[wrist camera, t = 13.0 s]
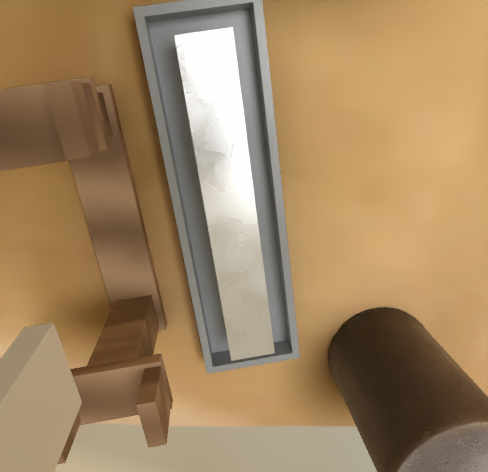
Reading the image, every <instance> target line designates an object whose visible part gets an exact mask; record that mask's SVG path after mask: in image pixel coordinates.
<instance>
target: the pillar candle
mask: <svg viewBox="0 0 488 472" xmlns="http://www.w3.org/2000/svg"><path fill="white" fill-rule="evenodd" d="M328 359H329V366H330V369H331V372H332V375H333V377H334V379H335V381H336V383H337V385H338V387H339V390H340V392H341V394H342V396H343V398H344V400H345V403H346V405H347V407H348V409H349V411H350V413H351V416H352V418H353V420H354V422H355V424H356V426H357V429H358V431H359V433H360V435H361V437H362V439H363V442H364V444H365V446H366V448H367V450H368V453H369V455H370V457H371V459H372V461H373V463H374V465H375V468H376V470H377V472H488V397H487V395H486V394H485V393H484V392H483V391H482V390H481V389H480V388H479V387H478V386H477V385H476V384H475V383H474V382H473V380H472V379H471V378H470V377H469V376H468V375H467V374H466V373H465V372H464V371H463V370H462V369H461V367H460V366H459V365H458V364H457V363H456V362H455V361H454V360H453V359H452V358H451V357H450V355H449V354H448V353H447V352H446V351H445V350H444V349H443V348H442V346H441V345H440V344H439V343H438V342H437V341H436V340H435V339H434V338H433V337H432V336H431V335H430V333H429V332H428V331H427V330H426V329H425V328H424V326H423V325H422V324H421V323H420V322H419V321H418V320H417V319H416V318H414V317H413V316H411V315H409V314H407V313H406V312H403V311H400V310H397V309H393V308H377V309H372V310H368V311H366V312H363V313H361V314H359V315H357V316H356V317H354V318H352V319H350V320H349V321H347V322H346V323H344V325H343V326H342V327H341V328H340V329H339V331H338V332H337V334H336V335H335V336H334V338H333V340H332V343H331V345H330V348H329V354H328Z"/></svg>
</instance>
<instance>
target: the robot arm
mask: <svg viewBox="0 0 488 472" xmlns="http://www.w3.org/2000/svg"><path fill="white" fill-rule="evenodd" d="M81 404H82V401H81V398H80V395H79V392H78V389H77V387H76V384H75V381H74V378H73V375H72V373H71V370H70V367H69V364H68V361H67V359H66V356H65V353H64V350H63V347H62V345H61V342H60V339H59V336H58V333H57V331H56V328H55V325H54V323H47V324H41V325H35V326H29V327H25V328H24V329H23V330H22V332H21V333H20V334H19V335H18V337H17V338H16V339H15V341H14V342H13V343H12V345H11V346H10V347H9V348H8V350H7V351H6V352H5V354H4V355H3V356H2V358H1V359H0V472H54V471H55V469H56V466H57V464H58V461H59V459H60V456H61V454H62V451H63V449H64V446H65V444H66V441H67V439H68V436H69V434H70V431H71V429H72V426H73V424H74V421H75V419H76V416H77V414H78V411H79V409H80V406H81Z"/></svg>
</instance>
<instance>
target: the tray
mask: <svg viewBox="0 0 488 472" xmlns="http://www.w3.org/2000/svg"><path fill="white" fill-rule="evenodd" d="M133 12H134V17H135V22H136V27H137V32H138V36H139V41H140V46H141V51H142V56H143V61H144V66H145V71H146V76H147V81H148V86H149V91H150V95H151V100H152V105H153V110H154V115H155V120H156V125H157V130H158V135H159V140H160V145H161V150H162V154H163V159H164V164H165V169H166V174H167V179H168V184H169V189H170V194H171V199H172V204H173V209H174V213H175V218H176V223H177V228H178V233H179V238H180V243H181V248H182V253H183V258H184V263H185V268H186V272H187V277H188V282H189V287H190V292H191V297H192V302H193V307H194V312H195V317H196V322H197V327H198V331H199V336H200V341H201V346H202V351H203V356H204V361H205V366H206V371H207V374H209V373H215V372H221V371H227V370H232V369H238V368H244V367H249V366H255V365H261V364H266V363H272V362H278V361H283V360H289V359H295V358H300V354H299V344H298V335H297V325H296V316H295V306H294V297H293V287H292V278H291V268H290V259H289V249H288V239H287V230H286V220H285V211H284V201H283V192H282V182H281V173H280V163H279V154H278V144H277V135H276V125H275V116H274V106H273V97H272V87H271V77H270V68H269V58H268V49H267V39H266V30H265V20H264V11H263V1H262V0H183V1H175V2H168V3H160V4H153V5H145V6H138V7H133ZM232 27H233V35H234V43H235V51H236V58H237V66H238V74H239V81H240V89H241V97H242V104H243V112H244V120H245V127H246V135H247V143H248V151H249V158H250V166H251V174H252V181H253V189H254V197H255V204H256V212H257V220H258V227H259V235H260V243H261V251H262V258H263V266H264V274H265V281H266V289H267V297H268V304H269V312H270V320H271V327H272V335H273V343H274V351H275V353H273V354H268V355H262V356H256V357H250V358H245V359H239V360H233V361H231V356H230V350H229V345H228V339H227V333H226V328H225V322H224V316H223V311H222V305H221V299H220V293H219V288H218V282H217V276H216V271H215V265H214V259H213V254H212V248H211V242H210V237H209V231H208V225H207V220H206V214H205V208H204V202H203V197H202V191H201V185H200V180H199V174H198V168H197V163H196V157H195V151H194V146H193V140H192V134H191V128H190V123H189V117H188V111H187V106H186V100H185V94H184V89H183V83H182V77H181V72H180V66H179V60H178V55H177V49H176V43H175V37H174V35H181V34H188V33H195V32H203V31H210V30H217V29H225V28H232Z"/></svg>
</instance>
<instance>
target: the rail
mask: <svg viewBox="0 0 488 472" xmlns="http://www.w3.org/2000/svg"><path fill="white" fill-rule="evenodd" d="M174 37H175V43H176V49H177V55H178V60H179V66H180V72H181V77H182V83H183V89H184V94H185V100H186V106H187V111H188V117H189V123H190V128H191V134H192V140H193V146H194V151H195V157H196V163H197V168H198V174H199V180H200V185H201V191H202V197H203V202H204V208H205V214H206V220H207V225H208V231H209V237H210V242H211V248H212V254H213V259H214V265H215V271H216V276H217V282H218V288H219V293H220V299H221V305H222V311H223V316H224V322H225V328H226V333H227V339H228V345H229V350H230V356H231V361H233V360H239V359H245V358H250V357H256V356H262V355H268V354H273V353H275V351H274V343H273V335H272V327H271V320H270V312H269V304H268V297H267V289H266V281H265V274H264V266H263V258H262V251H261V243H260V235H259V227H258V220H257V212H256V204H255V197H254V189H253V181H252V174H251V166H250V158H249V151H248V143H247V135H246V127H245V120H244V112H243V104H242V97H241V89H240V81H239V74H238V66H237V58H236V51H235V43H234V35H233V27H232V28H225V29H217V30H210V31H203V32H195V33H188V34H181V35H174Z"/></svg>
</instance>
